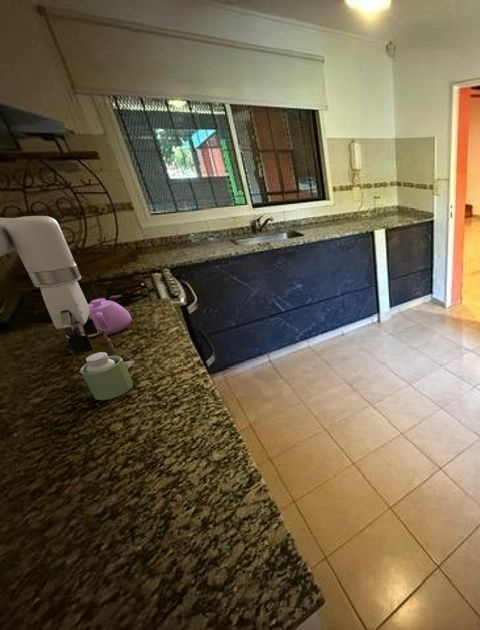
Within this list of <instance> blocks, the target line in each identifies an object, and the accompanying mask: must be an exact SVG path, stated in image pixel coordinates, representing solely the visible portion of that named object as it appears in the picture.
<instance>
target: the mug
mask: <svg viewBox="0 0 480 630" xmlns="http://www.w3.org/2000/svg"><path fill="white" fill-rule="evenodd" d="M108 357H109V359H111V360H113V361H114V362H115V364H116V365H114V366H112V367H111V368H108V369H106V370H103V371H99V372H95V373H88V372H87V367H88V366H89V365H88V364H87V363H85V364H84V365H83V366H82V367H80V368H79V373H80V376H81V377H82V380H83V381H84V382H85V384H86V387H87V388H88V391H89V392H90V394H91V396H92V397H93V398H94V400H97V401H106V400H112V399H115V398H117V397H120V396H123V395H124V394H125V393H128V392H129V391H130V390H132V388H133V386H134V382H133V380H132V376H131V375H130V373H129V371H128V370H129V369H128V370H127V368H126V366H125V364H124V362H125V361H124V360H123V358H122V356H119V355H118V356H108Z"/></svg>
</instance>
